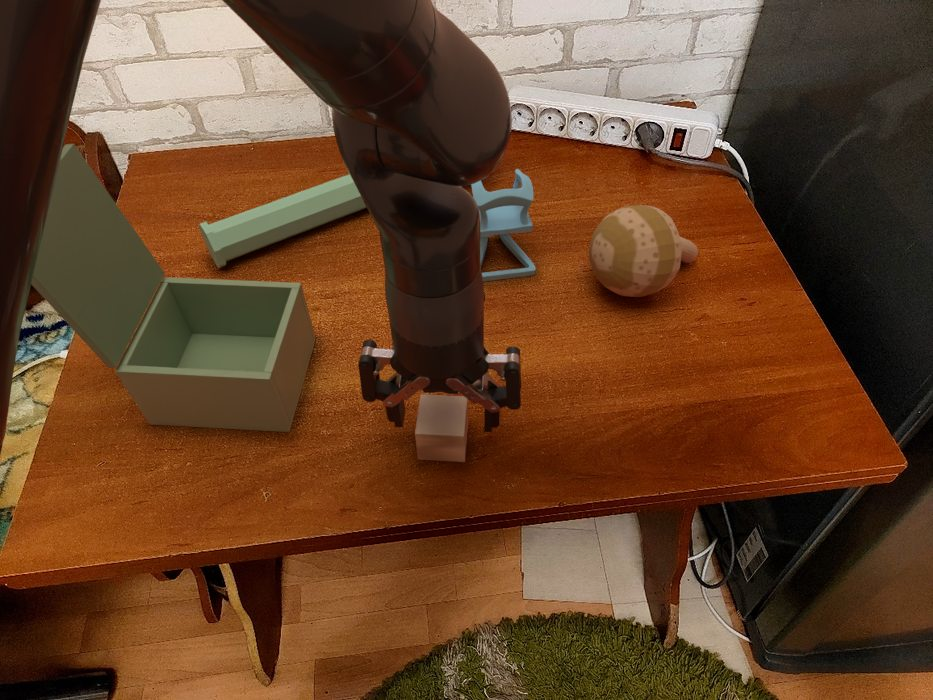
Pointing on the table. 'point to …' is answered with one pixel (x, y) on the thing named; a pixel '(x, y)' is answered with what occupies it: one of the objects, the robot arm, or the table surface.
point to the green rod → (281, 219)
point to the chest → (220, 354)
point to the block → (442, 428)
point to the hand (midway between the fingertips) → (444, 422)
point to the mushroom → (638, 250)
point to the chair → (505, 221)
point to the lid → (93, 261)
